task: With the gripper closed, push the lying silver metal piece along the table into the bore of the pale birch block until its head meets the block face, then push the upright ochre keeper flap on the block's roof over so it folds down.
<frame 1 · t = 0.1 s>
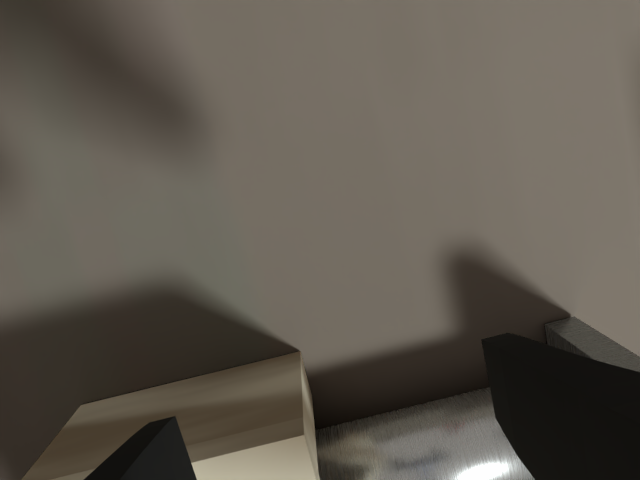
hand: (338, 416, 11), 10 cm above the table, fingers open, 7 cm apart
silver metal piece: (455, 463, 19), point 3 cm above the table, slide at 0.0 cm
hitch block: (221, 473, 22), on the table
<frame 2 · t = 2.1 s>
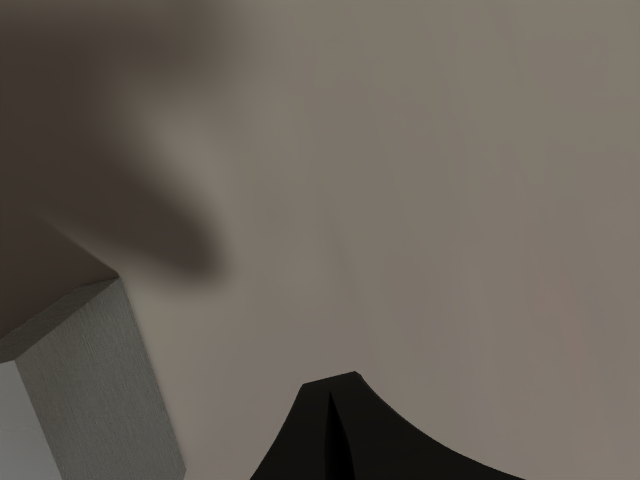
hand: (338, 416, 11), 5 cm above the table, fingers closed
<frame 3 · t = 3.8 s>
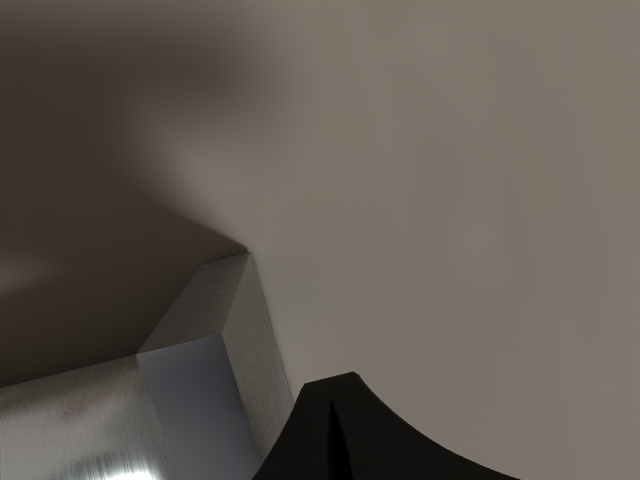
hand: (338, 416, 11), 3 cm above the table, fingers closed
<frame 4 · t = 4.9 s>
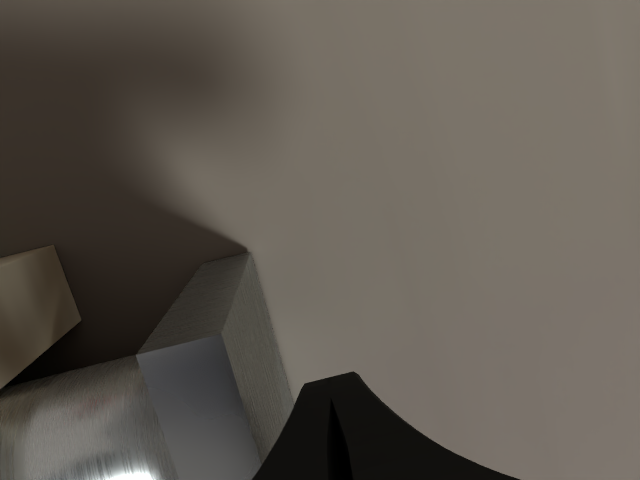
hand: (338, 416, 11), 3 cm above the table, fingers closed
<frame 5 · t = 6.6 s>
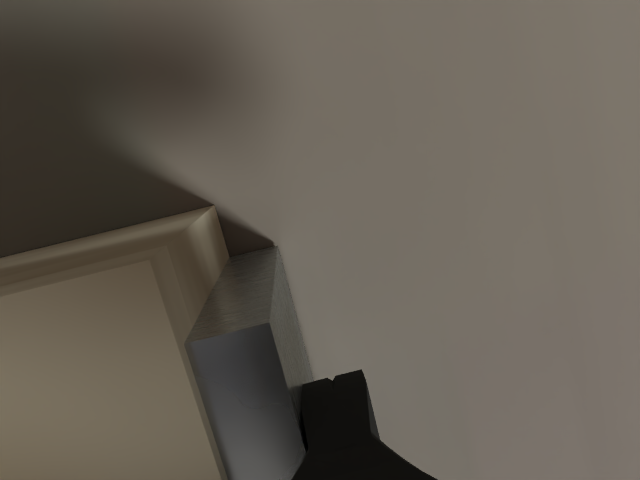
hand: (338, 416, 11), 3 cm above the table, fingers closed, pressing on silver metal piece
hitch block: (96, 410, 14), on the table
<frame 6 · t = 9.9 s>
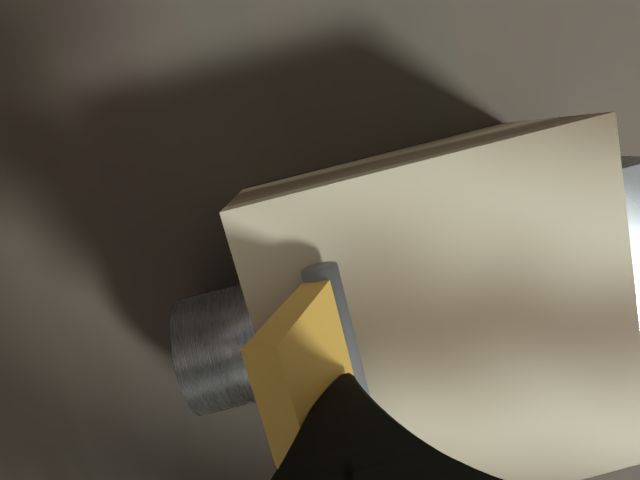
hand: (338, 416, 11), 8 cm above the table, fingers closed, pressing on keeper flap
silver metal piece: (399, 313, 16), point 3 cm above the table, slide at 11.0 cm, touching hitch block
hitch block: (401, 281, 19), on the table
keeper flap: (332, 426, 11), point 8 cm above the table, hinge at 21.9°, touching gripper
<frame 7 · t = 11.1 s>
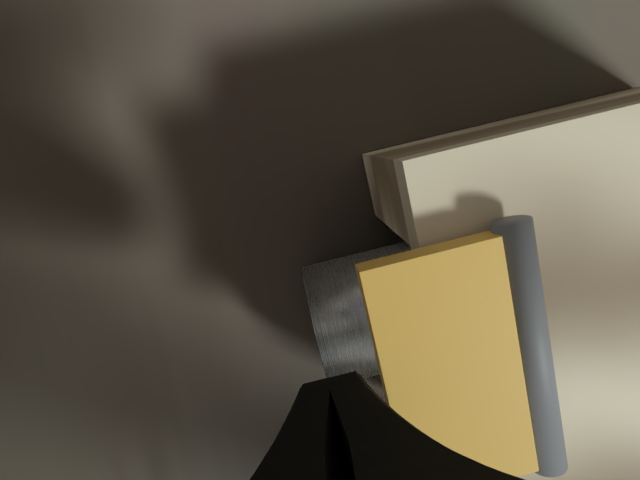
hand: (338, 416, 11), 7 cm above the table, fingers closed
silver metal piece: (538, 281, 15), point 3 cm above the table, slide at 11.0 cm, touching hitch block
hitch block: (518, 253, 18), on the table
keeper flap: (466, 366, 11), point 7 cm above the table, hinge at 89.1°
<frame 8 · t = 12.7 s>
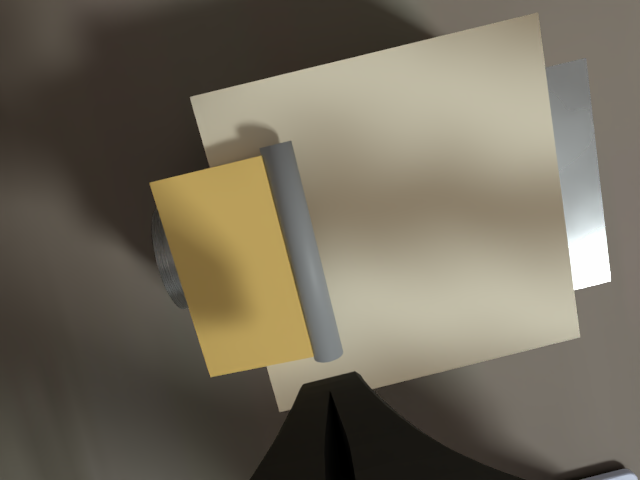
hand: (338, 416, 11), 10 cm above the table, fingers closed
silver metal piece: (359, 216, 17), point 3 cm above the table, slide at 11.0 cm, touching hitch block
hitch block: (367, 201, 20), on the table
keeper flap: (250, 266, 14), point 7 cm above the table, hinge at 96.5°
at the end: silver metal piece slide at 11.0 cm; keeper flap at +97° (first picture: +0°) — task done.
